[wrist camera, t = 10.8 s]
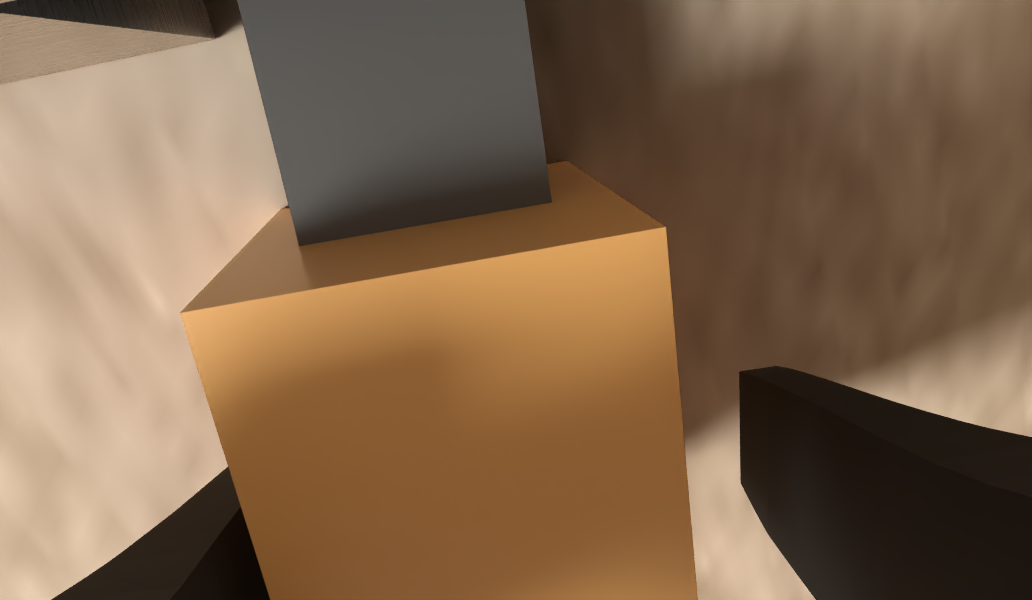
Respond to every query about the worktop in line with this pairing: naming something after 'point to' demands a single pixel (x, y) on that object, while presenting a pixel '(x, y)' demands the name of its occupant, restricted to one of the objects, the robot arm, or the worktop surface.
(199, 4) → the grey arch bracket
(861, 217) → the worktop surface
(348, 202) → the plug
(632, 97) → the worktop surface
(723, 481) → the worktop surface
